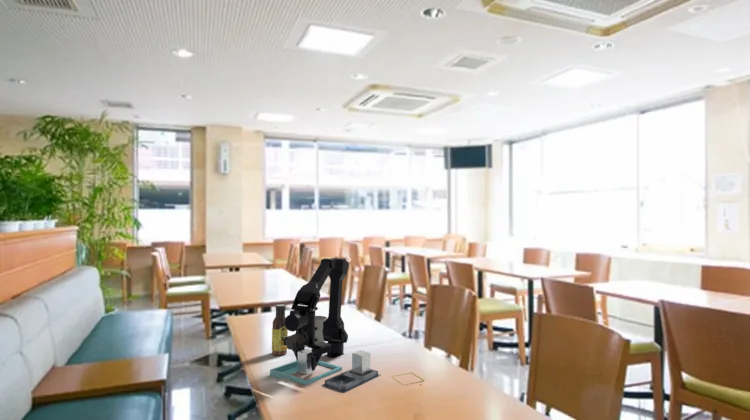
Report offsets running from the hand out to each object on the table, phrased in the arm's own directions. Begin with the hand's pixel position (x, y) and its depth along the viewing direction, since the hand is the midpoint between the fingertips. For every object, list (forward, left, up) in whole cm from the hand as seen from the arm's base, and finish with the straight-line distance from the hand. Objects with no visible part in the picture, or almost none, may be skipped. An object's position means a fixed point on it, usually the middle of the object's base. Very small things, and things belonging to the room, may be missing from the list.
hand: (306, 368), depth 160 cm
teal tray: (0, 0, -2) cm, 2 cm away
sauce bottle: (-10, -26, -3) cm, 28 cm away
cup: (-34, -28, -3) cm, 44 cm away
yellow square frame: (-17, +32, -3) cm, 36 cm away
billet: (0, 0, -2) cm, 2 cm away
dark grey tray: (-4, +18, -2) cm, 19 cm away
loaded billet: (-9, +18, -1) cm, 20 cm away
